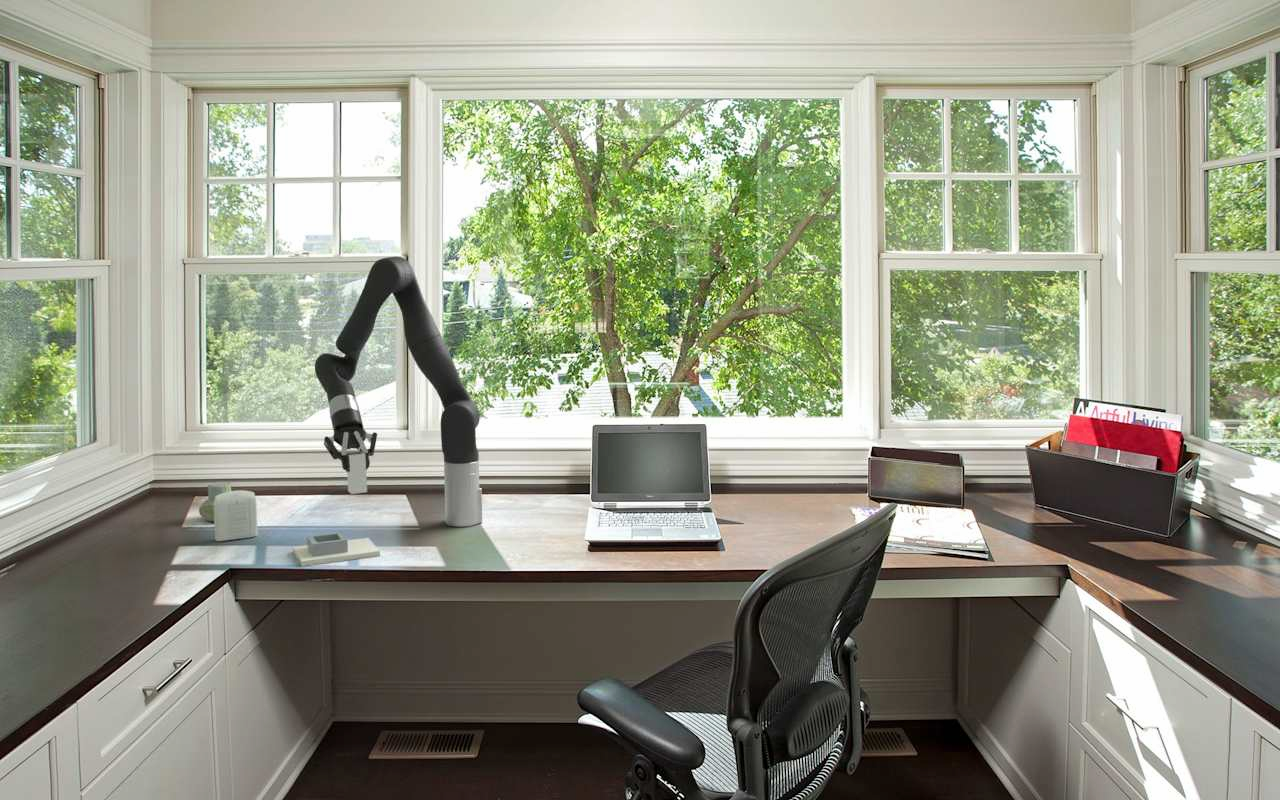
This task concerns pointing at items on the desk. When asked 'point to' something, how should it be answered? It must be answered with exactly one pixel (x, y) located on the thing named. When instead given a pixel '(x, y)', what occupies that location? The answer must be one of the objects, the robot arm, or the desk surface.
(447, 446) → the robot arm
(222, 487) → the air freshener
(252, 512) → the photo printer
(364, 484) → the grainy grey brick
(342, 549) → the docking board
